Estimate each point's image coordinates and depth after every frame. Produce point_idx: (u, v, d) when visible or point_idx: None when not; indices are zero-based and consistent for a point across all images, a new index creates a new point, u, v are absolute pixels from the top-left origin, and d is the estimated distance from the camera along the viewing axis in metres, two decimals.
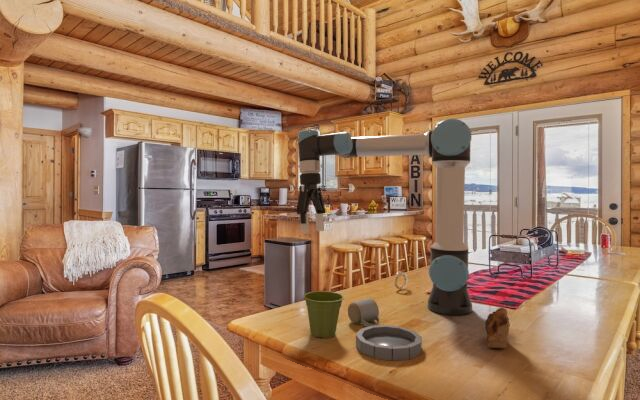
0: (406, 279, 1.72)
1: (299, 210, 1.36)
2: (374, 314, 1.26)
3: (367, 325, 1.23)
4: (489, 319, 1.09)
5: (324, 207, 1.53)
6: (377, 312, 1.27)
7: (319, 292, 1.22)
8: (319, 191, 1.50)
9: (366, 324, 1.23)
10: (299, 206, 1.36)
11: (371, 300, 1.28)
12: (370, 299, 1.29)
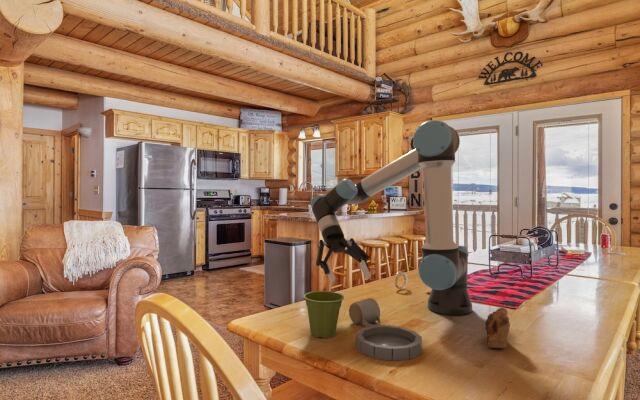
0: (406, 279, 1.72)
1: (317, 262, 1.35)
2: (375, 315, 1.26)
3: (368, 326, 1.22)
4: (489, 319, 1.09)
5: (366, 254, 1.43)
6: (378, 313, 1.26)
7: (319, 292, 1.22)
8: (350, 241, 1.45)
9: (367, 325, 1.22)
10: (317, 259, 1.36)
11: (372, 300, 1.28)
12: (371, 299, 1.28)
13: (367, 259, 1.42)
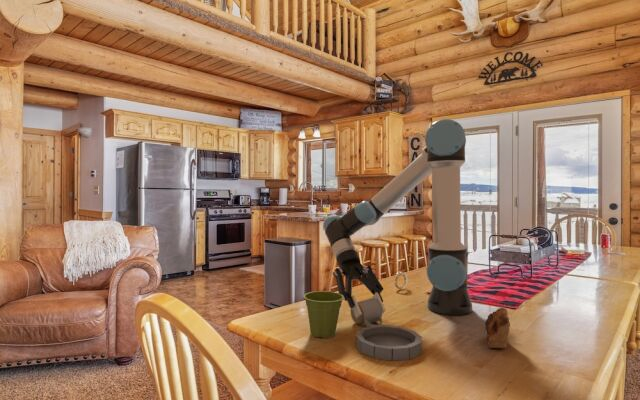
0: (406, 279, 1.72)
1: None
2: (377, 315, 1.25)
3: None
4: (489, 319, 1.09)
5: (381, 285, 1.32)
6: (380, 313, 1.26)
7: (319, 292, 1.22)
8: (367, 268, 1.36)
9: (369, 325, 1.22)
10: (340, 292, 1.27)
11: (374, 301, 1.27)
12: (373, 300, 1.28)
13: (380, 291, 1.31)
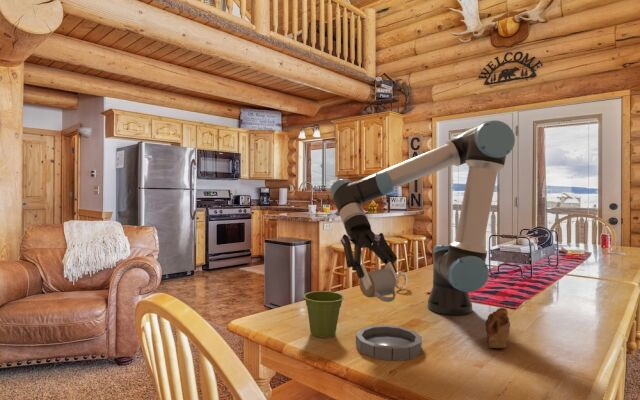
0: (406, 279, 1.72)
1: (348, 264, 1.11)
2: (390, 286, 1.10)
3: (381, 298, 1.07)
4: (489, 319, 1.09)
5: (394, 254, 1.17)
6: (393, 284, 1.11)
7: (319, 291, 1.22)
8: (379, 236, 1.20)
9: (380, 297, 1.07)
10: (347, 260, 1.12)
11: (386, 271, 1.12)
12: (385, 270, 1.13)
13: (393, 260, 1.16)
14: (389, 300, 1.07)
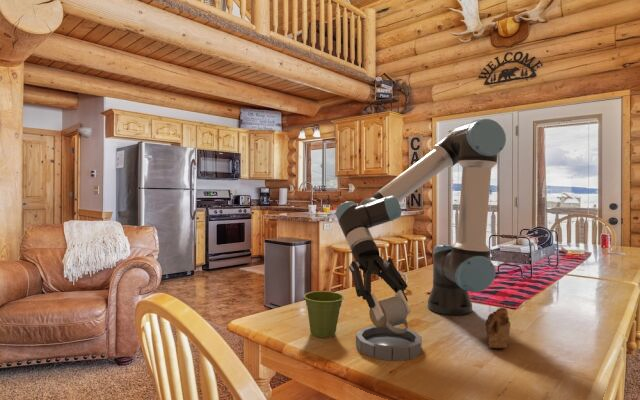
0: (406, 279, 1.72)
1: (358, 293, 1.06)
2: (401, 316, 1.06)
3: (394, 330, 1.02)
4: (490, 319, 1.09)
5: (404, 282, 1.13)
6: (405, 314, 1.06)
7: (319, 291, 1.23)
8: (388, 262, 1.16)
9: (392, 328, 1.02)
10: (357, 289, 1.07)
11: (397, 300, 1.08)
12: (396, 299, 1.08)
13: (404, 288, 1.12)
14: (402, 332, 1.03)
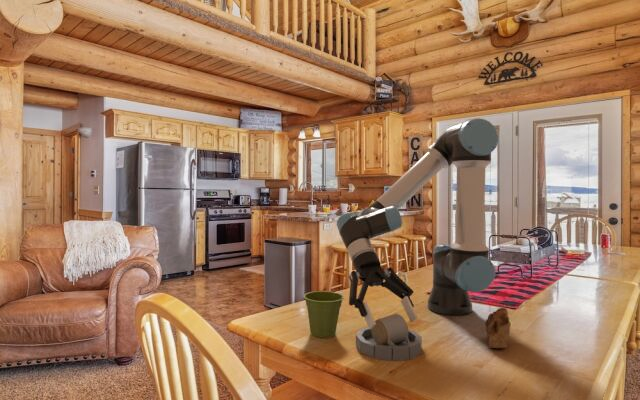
0: (406, 279, 1.72)
1: (350, 301, 1.06)
2: (403, 334, 1.06)
3: None
4: (490, 319, 1.09)
5: (409, 288, 1.15)
6: (406, 332, 1.06)
7: (319, 292, 1.23)
8: (389, 272, 1.17)
9: None
10: (350, 297, 1.08)
11: (399, 317, 1.08)
12: (398, 316, 1.08)
13: (410, 294, 1.14)
14: None
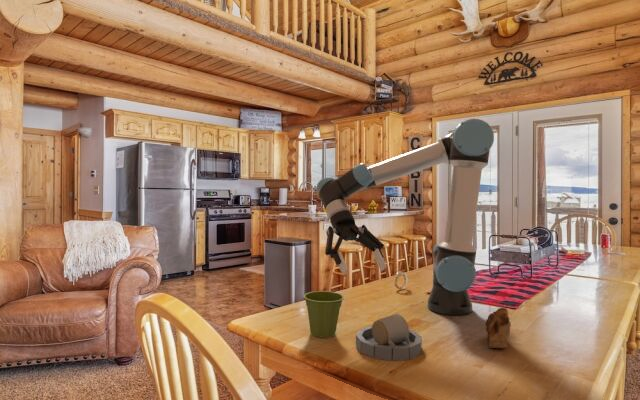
0: (406, 279, 1.72)
1: (326, 251, 1.20)
2: (404, 335, 1.06)
3: None
4: (490, 319, 1.09)
5: (380, 242, 1.28)
6: (407, 332, 1.06)
7: (319, 292, 1.22)
8: (362, 228, 1.30)
9: None
10: (326, 248, 1.21)
11: (400, 317, 1.08)
12: (399, 316, 1.08)
13: (381, 248, 1.28)
14: None
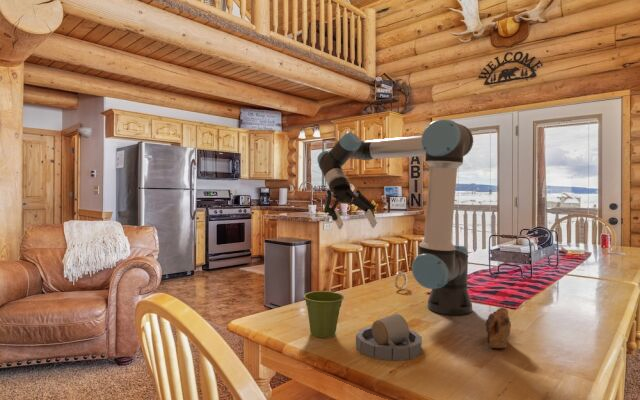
0: (406, 279, 1.72)
1: (325, 209, 1.40)
2: (404, 335, 1.06)
3: None
4: (490, 319, 1.09)
5: (372, 204, 1.48)
6: (407, 332, 1.06)
7: (319, 291, 1.23)
8: (357, 193, 1.50)
9: None
10: (325, 207, 1.41)
11: (400, 317, 1.08)
12: (398, 316, 1.08)
13: (373, 209, 1.47)
14: None
